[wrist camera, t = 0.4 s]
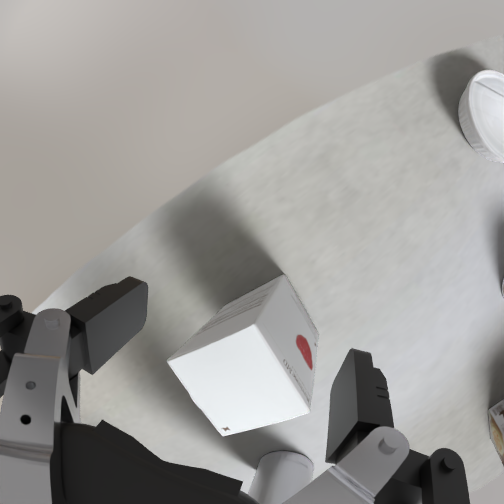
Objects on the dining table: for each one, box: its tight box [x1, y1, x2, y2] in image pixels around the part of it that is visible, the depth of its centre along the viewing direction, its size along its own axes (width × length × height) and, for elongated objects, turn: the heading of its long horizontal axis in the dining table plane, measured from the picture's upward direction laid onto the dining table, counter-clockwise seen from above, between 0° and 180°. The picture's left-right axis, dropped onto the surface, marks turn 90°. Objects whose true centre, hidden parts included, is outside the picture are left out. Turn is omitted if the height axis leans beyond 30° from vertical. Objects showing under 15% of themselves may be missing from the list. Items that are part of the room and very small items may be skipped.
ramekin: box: [458, 70, 504, 163], centre depth 22 cm, size 11×11×5 cm
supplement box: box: [167, 274, 319, 436], centre depth 28 cm, size 9×9×15 cm
